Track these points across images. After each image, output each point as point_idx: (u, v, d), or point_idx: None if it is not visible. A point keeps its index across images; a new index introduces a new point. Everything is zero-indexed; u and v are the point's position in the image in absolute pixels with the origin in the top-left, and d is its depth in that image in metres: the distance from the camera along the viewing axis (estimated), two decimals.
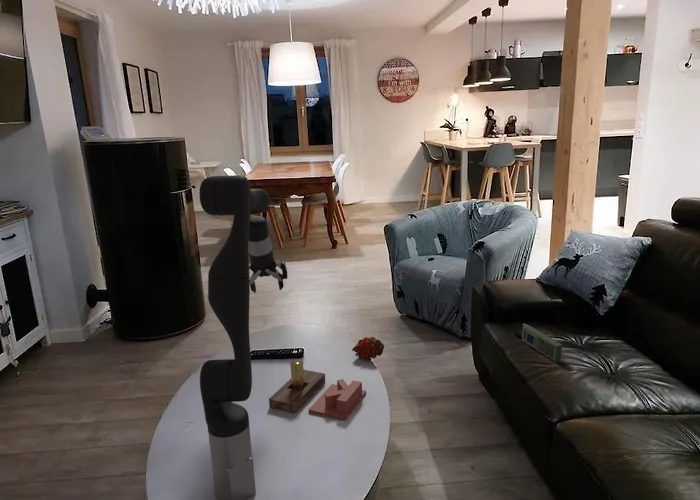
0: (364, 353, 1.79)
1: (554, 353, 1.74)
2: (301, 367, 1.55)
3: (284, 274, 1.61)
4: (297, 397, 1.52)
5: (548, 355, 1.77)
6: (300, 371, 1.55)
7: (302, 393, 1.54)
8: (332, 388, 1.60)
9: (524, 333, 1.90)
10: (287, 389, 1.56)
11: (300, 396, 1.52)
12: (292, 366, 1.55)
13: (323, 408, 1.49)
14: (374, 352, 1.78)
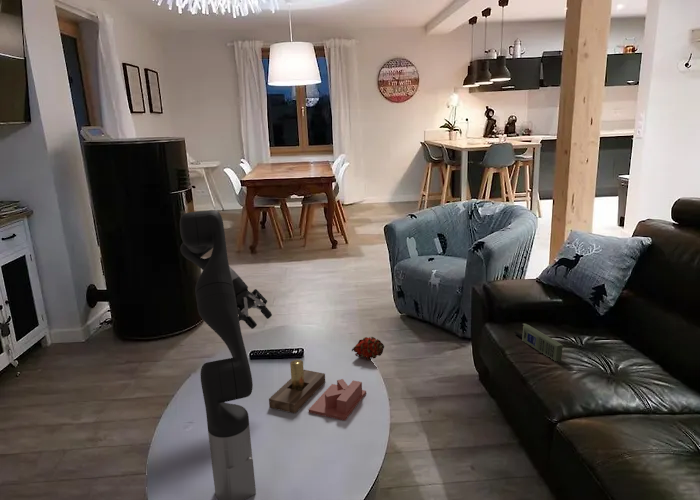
0: (364, 353, 1.79)
1: (555, 353, 1.74)
2: (301, 367, 1.55)
3: (263, 298, 1.64)
4: (297, 397, 1.52)
5: (549, 355, 1.77)
6: (300, 371, 1.55)
7: (302, 393, 1.54)
8: (332, 388, 1.60)
9: (524, 333, 1.90)
10: (287, 389, 1.56)
11: (300, 396, 1.52)
12: (292, 366, 1.55)
13: (323, 408, 1.49)
14: (374, 352, 1.78)
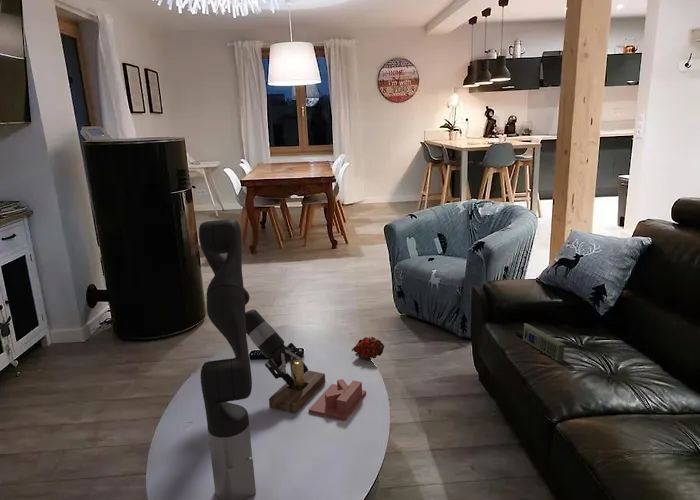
0: (364, 353, 1.79)
1: (556, 352, 1.75)
2: (301, 367, 1.55)
3: (298, 352, 1.63)
4: (297, 397, 1.52)
5: (550, 354, 1.78)
6: (300, 371, 1.55)
7: (302, 393, 1.54)
8: (332, 388, 1.60)
9: (525, 333, 1.90)
10: (287, 389, 1.56)
11: (300, 396, 1.52)
12: (292, 366, 1.55)
13: (323, 408, 1.49)
14: (374, 352, 1.78)
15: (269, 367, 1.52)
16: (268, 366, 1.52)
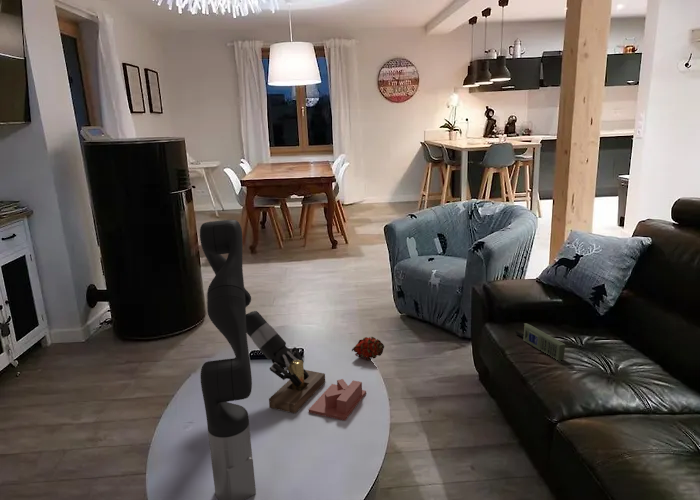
0: (364, 353, 1.79)
1: (557, 352, 1.75)
2: (301, 367, 1.55)
3: (300, 357, 1.62)
4: (297, 397, 1.52)
5: (551, 354, 1.78)
6: (300, 371, 1.55)
7: (302, 393, 1.54)
8: (332, 388, 1.60)
9: (526, 333, 1.90)
10: (287, 389, 1.56)
11: (300, 396, 1.52)
12: (292, 366, 1.55)
13: (323, 408, 1.49)
14: (374, 352, 1.78)
15: (275, 371, 1.53)
16: (274, 370, 1.53)
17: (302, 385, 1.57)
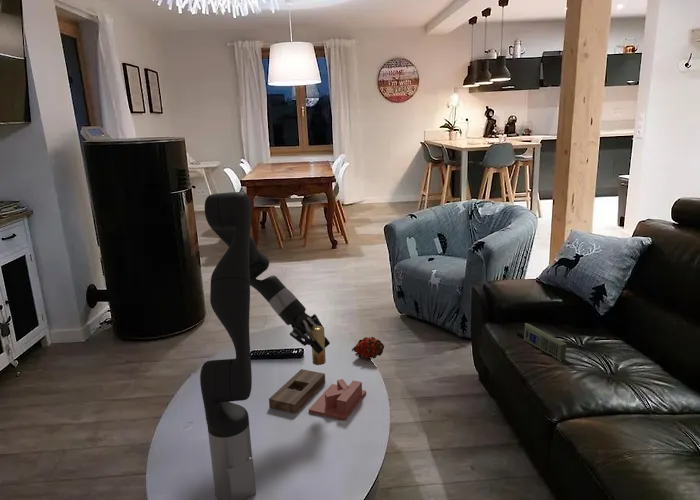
0: (364, 353, 1.79)
1: (559, 352, 1.75)
2: (322, 333, 1.49)
3: (320, 324, 1.55)
4: (297, 397, 1.52)
5: (552, 354, 1.78)
6: (321, 337, 1.49)
7: (302, 393, 1.54)
8: (332, 388, 1.60)
9: (526, 332, 1.90)
10: (287, 389, 1.56)
11: (300, 396, 1.52)
12: (313, 332, 1.48)
13: (323, 408, 1.49)
14: (374, 352, 1.78)
15: (295, 336, 1.46)
16: (294, 335, 1.46)
17: (323, 352, 1.50)
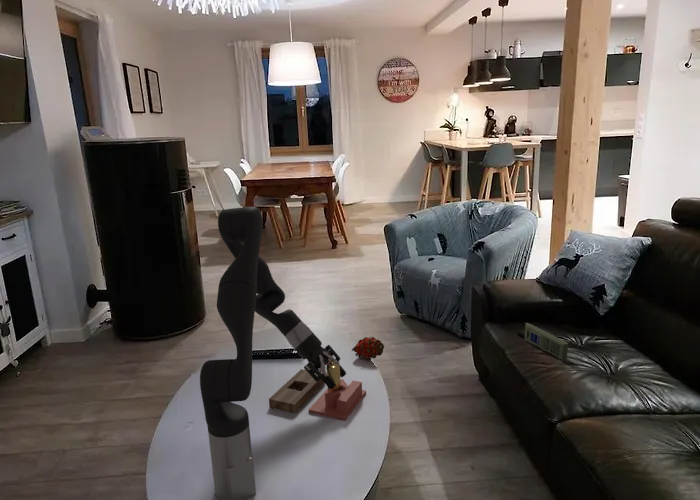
0: (364, 353, 1.79)
1: (560, 352, 1.75)
2: (338, 371, 1.50)
3: (336, 355, 1.57)
4: (297, 397, 1.52)
5: (554, 354, 1.78)
6: (337, 375, 1.50)
7: (302, 393, 1.54)
8: None
9: (527, 332, 1.90)
10: (287, 389, 1.56)
11: (300, 396, 1.52)
12: (329, 370, 1.50)
13: (323, 408, 1.49)
14: (374, 352, 1.78)
15: (309, 370, 1.47)
16: (308, 369, 1.47)
17: None
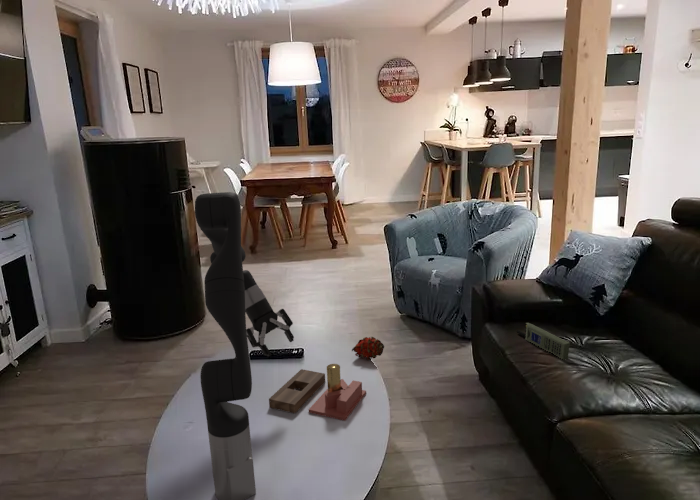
0: (364, 353, 1.79)
1: (562, 351, 1.75)
2: (338, 371, 1.50)
3: (288, 320, 1.56)
4: (297, 397, 1.52)
5: (555, 353, 1.78)
6: (337, 375, 1.50)
7: (302, 393, 1.54)
8: None
9: (528, 332, 1.90)
10: (287, 389, 1.56)
11: (300, 396, 1.52)
12: (329, 370, 1.49)
13: (323, 408, 1.49)
14: (374, 352, 1.78)
15: (247, 335, 1.50)
16: (246, 334, 1.50)
17: None
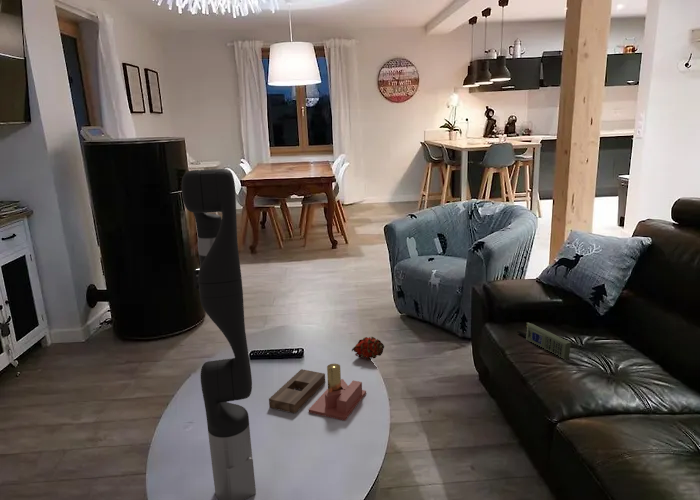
0: (364, 353, 1.79)
1: (563, 351, 1.76)
2: (338, 371, 1.50)
3: None
4: (297, 397, 1.52)
5: (556, 353, 1.79)
6: (337, 375, 1.50)
7: (302, 393, 1.54)
8: None
9: (529, 332, 1.90)
10: (287, 389, 1.56)
11: (300, 396, 1.52)
12: (329, 370, 1.50)
13: (323, 408, 1.49)
14: (374, 352, 1.78)
15: None
16: None
17: None
